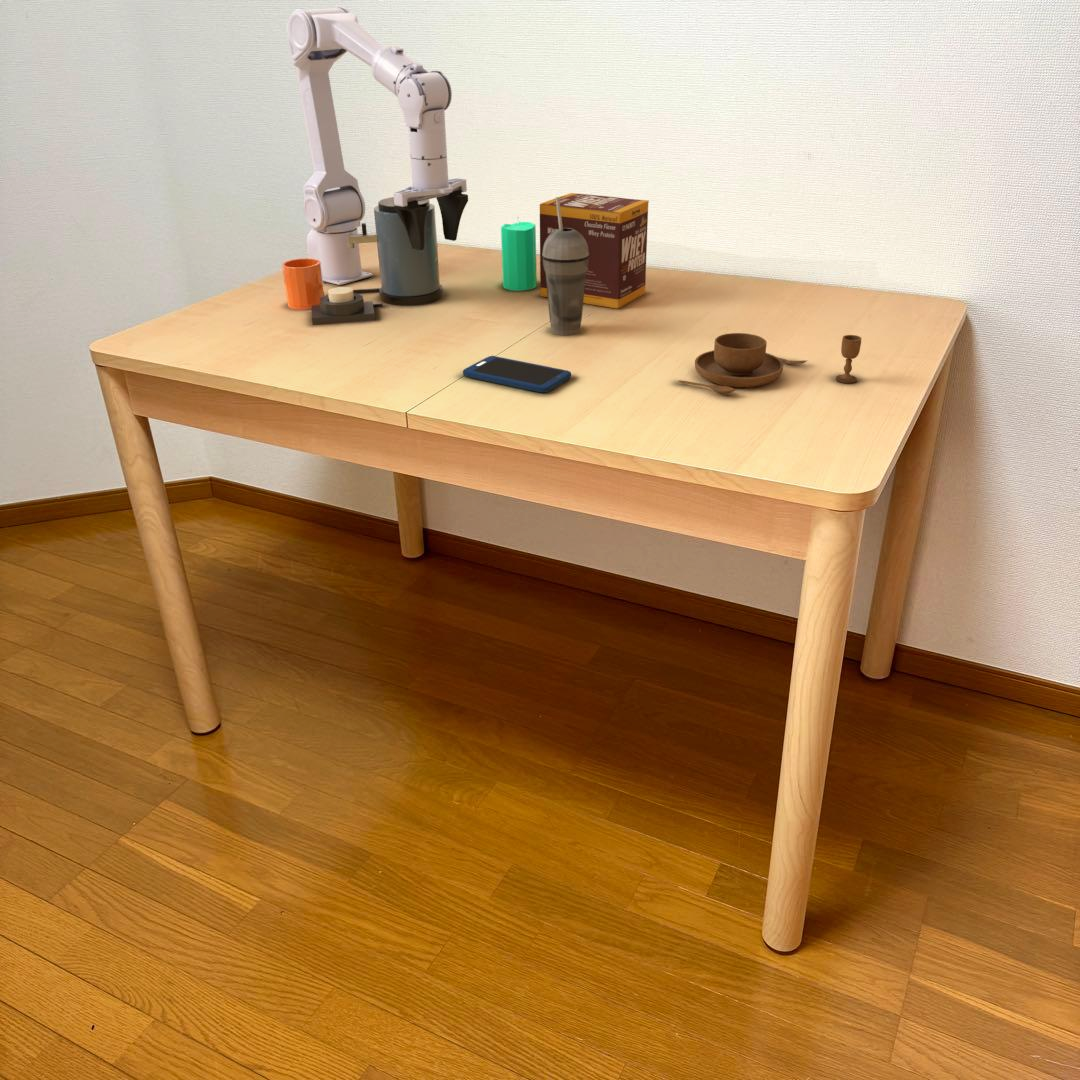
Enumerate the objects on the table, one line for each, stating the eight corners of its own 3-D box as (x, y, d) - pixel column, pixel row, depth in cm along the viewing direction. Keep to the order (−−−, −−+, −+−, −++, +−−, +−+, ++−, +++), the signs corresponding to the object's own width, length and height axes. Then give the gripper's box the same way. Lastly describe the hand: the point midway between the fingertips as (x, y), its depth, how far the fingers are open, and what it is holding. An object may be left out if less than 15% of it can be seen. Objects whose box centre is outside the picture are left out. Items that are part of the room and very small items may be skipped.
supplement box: (619, 309, 167) (621, 211, 159) (539, 296, 174) (537, 202, 167) (647, 293, 175) (650, 199, 167) (569, 282, 182) (569, 191, 174)
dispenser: (330, 311, 169) (318, 212, 161) (330, 293, 178) (318, 199, 170) (446, 303, 172) (439, 205, 164) (439, 286, 181) (433, 193, 173)
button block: (312, 325, 163) (310, 306, 161) (312, 312, 169) (310, 294, 167) (375, 320, 164) (373, 302, 163) (373, 308, 170) (371, 290, 169)
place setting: (733, 348, 149) (736, 309, 146) (862, 378, 138) (868, 336, 135) (667, 383, 138) (669, 341, 135) (802, 418, 127) (808, 373, 124)
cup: (280, 305, 172) (274, 264, 169) (309, 297, 177) (303, 256, 173) (304, 312, 169) (298, 269, 166) (332, 303, 173) (327, 261, 170)
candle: (538, 281, 183) (537, 212, 177) (534, 290, 177) (533, 220, 171) (505, 281, 183) (502, 212, 177) (500, 290, 178) (498, 220, 172)
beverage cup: (585, 339, 154) (585, 203, 144) (538, 337, 156) (535, 202, 146) (592, 324, 160) (593, 193, 151) (547, 322, 162) (545, 191, 152)
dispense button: (329, 305, 163) (328, 294, 162) (329, 298, 167) (327, 287, 166) (354, 303, 164) (353, 292, 163) (353, 296, 167) (352, 286, 166)
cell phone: (490, 359, 147) (490, 354, 146) (573, 376, 140) (573, 371, 140) (460, 375, 141) (460, 370, 141) (545, 393, 135) (545, 388, 134)
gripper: (413, 166, 153) (420, 257, 159) (478, 152, 162) (482, 238, 169) (381, 161, 157) (389, 250, 163) (446, 148, 166) (451, 233, 173)
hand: (434, 244), depth 167 cm, fingers open, 7 cm apart
